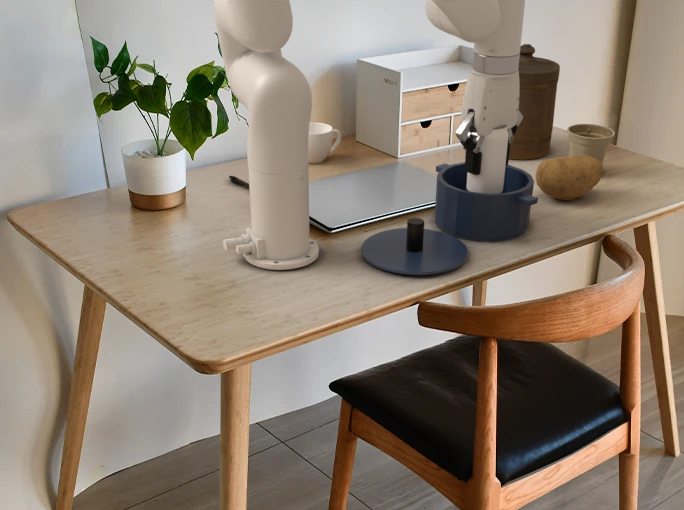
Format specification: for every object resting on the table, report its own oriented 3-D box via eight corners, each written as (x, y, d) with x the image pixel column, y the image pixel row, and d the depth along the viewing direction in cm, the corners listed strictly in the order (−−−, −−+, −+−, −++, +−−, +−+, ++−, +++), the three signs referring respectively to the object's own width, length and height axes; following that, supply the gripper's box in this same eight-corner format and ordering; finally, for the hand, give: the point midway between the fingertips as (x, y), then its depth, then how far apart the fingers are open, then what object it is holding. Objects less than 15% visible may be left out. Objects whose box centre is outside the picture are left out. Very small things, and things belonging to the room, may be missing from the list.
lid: (412, 288, 143) (414, 253, 140) (339, 251, 155) (339, 217, 151) (489, 258, 153) (492, 224, 150) (415, 225, 165) (417, 193, 161)
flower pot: (614, 170, 191) (621, 128, 186) (598, 183, 184) (605, 140, 179) (571, 161, 195) (577, 120, 190) (554, 173, 188) (560, 132, 184)
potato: (612, 200, 176) (619, 160, 172) (550, 211, 171) (556, 169, 167) (582, 183, 184) (587, 144, 179) (522, 193, 179) (526, 153, 174)
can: (481, 181, 167) (487, 115, 160) (510, 191, 163) (517, 124, 157) (458, 190, 163) (463, 123, 157) (487, 200, 159) (493, 132, 153)
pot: (495, 255, 154) (500, 207, 150) (405, 215, 168) (407, 170, 164) (558, 230, 164) (565, 184, 159) (468, 194, 178) (471, 151, 173)
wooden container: (559, 145, 204) (572, 42, 192) (534, 164, 193) (547, 56, 181) (497, 134, 210) (506, 33, 198) (470, 152, 199) (478, 47, 187)
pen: (225, 180, 182) (224, 175, 181) (232, 178, 183) (232, 173, 182) (265, 201, 173) (265, 195, 172) (273, 199, 174) (273, 193, 173)
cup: (290, 156, 195) (289, 125, 191) (332, 150, 199) (332, 119, 195) (305, 168, 189) (304, 135, 185) (348, 161, 193) (349, 129, 189)
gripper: (513, 51, 158) (503, 152, 168) (442, 67, 149) (436, 173, 158) (547, 59, 154) (535, 163, 163) (476, 76, 144) (467, 185, 154)
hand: (486, 167), depth 161 cm, fingers closed on can, 6 cm apart
